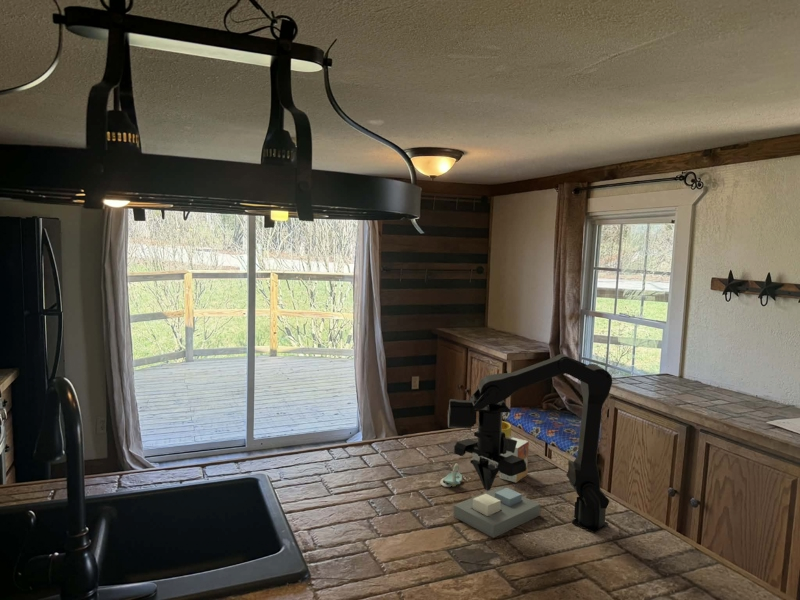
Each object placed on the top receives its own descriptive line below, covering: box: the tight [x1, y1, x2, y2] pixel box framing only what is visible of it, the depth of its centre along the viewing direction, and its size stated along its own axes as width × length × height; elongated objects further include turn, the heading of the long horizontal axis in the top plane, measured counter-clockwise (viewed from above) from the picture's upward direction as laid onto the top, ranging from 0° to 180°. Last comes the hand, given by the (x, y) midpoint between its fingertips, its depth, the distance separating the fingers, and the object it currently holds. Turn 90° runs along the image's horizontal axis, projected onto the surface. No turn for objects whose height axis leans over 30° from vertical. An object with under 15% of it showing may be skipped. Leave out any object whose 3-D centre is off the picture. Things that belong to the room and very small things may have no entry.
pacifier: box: [439, 463, 463, 488], centre depth 158 cm, size 7×6×6 cm
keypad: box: [453, 486, 541, 539], centre depth 139 cm, size 13×18×3 cm
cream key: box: [473, 494, 501, 516], centre depth 136 cm, size 5×5×3 cm
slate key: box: [495, 487, 523, 507], centre depth 142 cm, size 5×5×3 cm
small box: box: [498, 437, 530, 483], centre depth 164 cm, size 8×6×10 cm
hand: (487, 489), depth 136 cm, fingers closed
